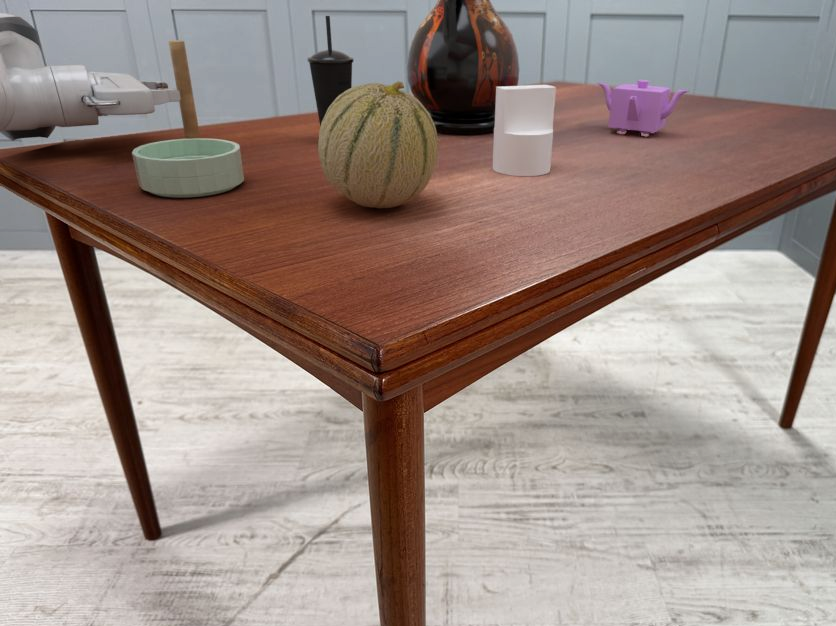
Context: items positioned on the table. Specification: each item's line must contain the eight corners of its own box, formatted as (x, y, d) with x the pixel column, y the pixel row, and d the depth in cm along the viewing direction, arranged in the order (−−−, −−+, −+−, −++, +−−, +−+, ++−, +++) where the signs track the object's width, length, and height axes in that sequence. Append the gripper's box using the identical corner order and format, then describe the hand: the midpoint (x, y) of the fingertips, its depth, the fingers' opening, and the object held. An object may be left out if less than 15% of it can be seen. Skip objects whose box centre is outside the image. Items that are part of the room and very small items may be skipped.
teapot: (580, 133, 130) (586, 80, 125) (600, 123, 140) (606, 73, 135) (674, 144, 123) (683, 88, 118) (687, 133, 133) (697, 80, 128)
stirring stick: (185, 144, 114) (167, 41, 106) (186, 141, 116) (168, 40, 108) (200, 143, 115) (183, 41, 107) (201, 140, 117) (184, 40, 109)
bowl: (135, 202, 84) (126, 162, 82) (145, 176, 95) (138, 140, 93) (246, 195, 88) (240, 157, 85) (243, 171, 99) (238, 136, 96)
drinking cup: (336, 135, 123) (328, 14, 114) (366, 141, 119) (360, 16, 110) (305, 141, 118) (293, 15, 108) (336, 148, 114) (327, 17, 104)
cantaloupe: (329, 189, 91) (319, 71, 84) (436, 189, 92) (436, 73, 85) (315, 223, 78) (303, 88, 71) (440, 223, 79) (440, 89, 72)
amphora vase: (428, 115, 144) (427, -34, 130) (525, 122, 139) (535, -32, 126) (391, 133, 126) (386, -38, 112) (502, 142, 121) (511, -36, 107)
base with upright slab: (509, 178, 99) (514, 92, 93) (482, 164, 106) (485, 84, 100) (561, 173, 102) (568, 90, 96) (531, 160, 109) (537, 82, 103)
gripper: (80, 82, 94) (183, 77, 101) (68, 67, 109) (157, 64, 116) (92, 128, 97) (190, 121, 104) (78, 107, 112) (165, 102, 119)
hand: (173, 90), depth 110 cm, fingers open, 8 cm apart
